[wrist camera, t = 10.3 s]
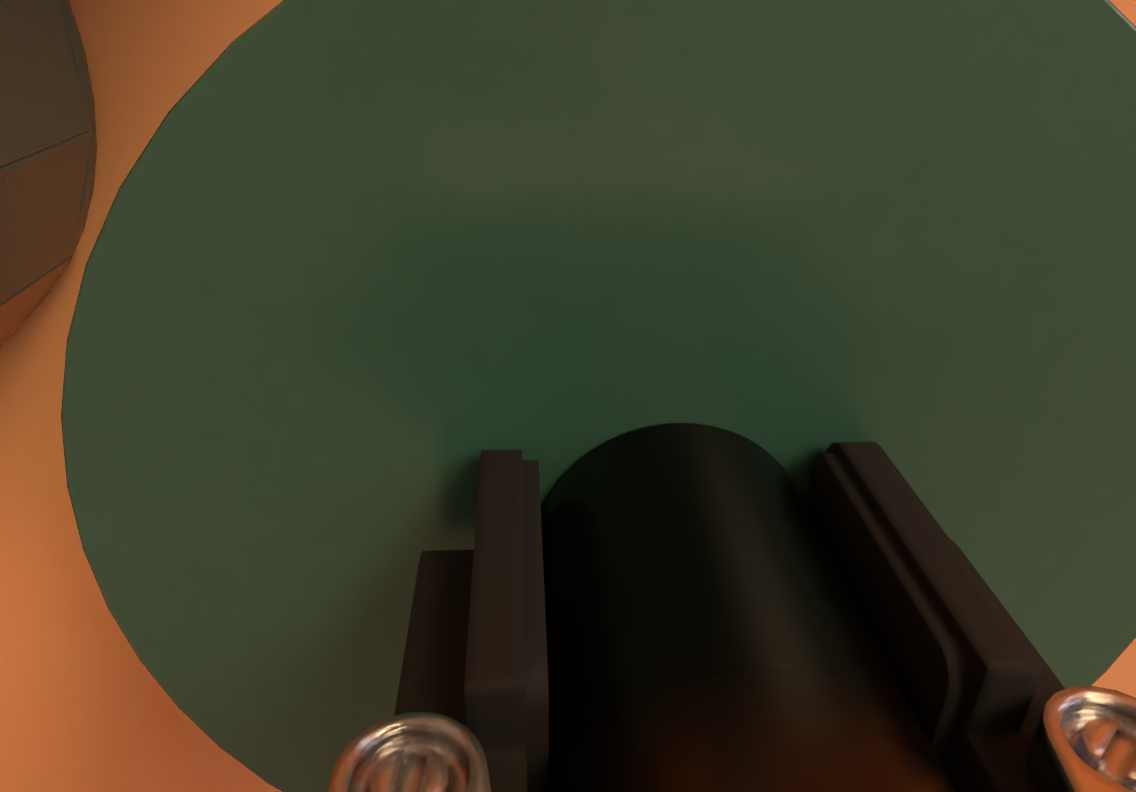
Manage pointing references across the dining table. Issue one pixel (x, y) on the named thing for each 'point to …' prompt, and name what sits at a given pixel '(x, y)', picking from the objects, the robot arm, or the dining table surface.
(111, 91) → the dining table surface
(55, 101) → the pot
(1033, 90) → the lid
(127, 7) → the dining table surface
